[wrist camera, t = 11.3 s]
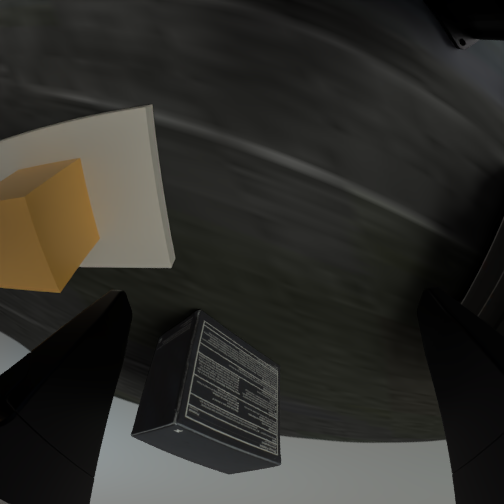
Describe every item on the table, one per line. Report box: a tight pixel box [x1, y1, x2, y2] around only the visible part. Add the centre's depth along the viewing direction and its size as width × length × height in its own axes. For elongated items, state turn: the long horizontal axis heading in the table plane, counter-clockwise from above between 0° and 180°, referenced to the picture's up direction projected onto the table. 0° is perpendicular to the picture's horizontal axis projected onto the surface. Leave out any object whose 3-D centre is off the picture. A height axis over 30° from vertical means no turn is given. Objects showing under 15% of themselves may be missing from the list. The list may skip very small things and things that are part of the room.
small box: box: [131, 310, 281, 474], centre depth 24 cm, size 11×6×10 cm, turn 43°
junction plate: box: [0, 105, 175, 268], centre depth 18 cm, size 16×11×5 cm, turn 92°
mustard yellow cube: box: [0, 158, 100, 293], centre depth 17 cm, size 6×6×6 cm
